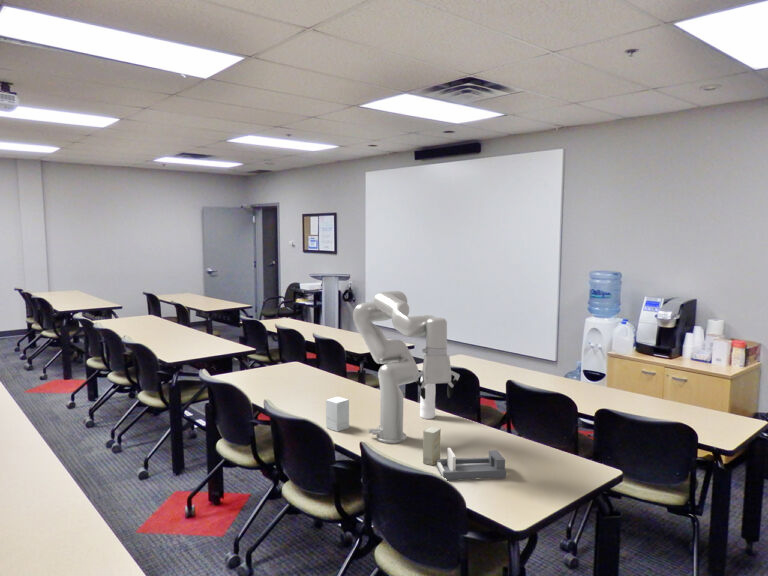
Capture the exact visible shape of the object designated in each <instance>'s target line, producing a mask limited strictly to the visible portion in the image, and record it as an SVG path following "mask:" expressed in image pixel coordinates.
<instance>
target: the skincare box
mask: <svg viewBox="0 0 768 576" xmlns="http://www.w3.org/2000/svg"><path fill="white" fill-rule="evenodd" d="M422 434H423V437H422V438H423V439H422V452H423V453H422V463H423V464H426V465H430V466H435V465H437V459H441V428H440V427H435V426H429V427H427V428H426V429H425V430H423V433H422Z"/></svg>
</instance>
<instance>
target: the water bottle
mask: <svg viewBox="0 0 768 576" xmlns="http://www.w3.org/2000/svg"><path fill="white" fill-rule="evenodd" d="M422 381H423V379H422V376H420V382H422ZM424 388H425V399H423V398H422V396H420V401H419V408H420V409H419V417H420V418H421V419H425V420H432V419H434V418H435V417H436V384H426V385H425V387H424Z"/></svg>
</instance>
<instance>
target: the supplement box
mask: <svg viewBox="0 0 768 576" xmlns="http://www.w3.org/2000/svg"><path fill="white" fill-rule="evenodd" d="M325 416H326V417H325V420H326V421H325V424H326V425H325V427H326V428H327V429H329V430H332V431H335V432H340V431H344V430H347V429H349V428H350V399H348V398H344V397H341V396H335V397H332V398H328V399H326V400H325Z"/></svg>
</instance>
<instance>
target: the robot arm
mask: <svg viewBox="0 0 768 576" xmlns="http://www.w3.org/2000/svg"><path fill="white" fill-rule="evenodd" d="M409 313H410V306H409V304H408V297H407V295H406V294H405V293H404V292H402V291H400V290H390V291H389V290H388V291H381V292H378V293H377V294H375V295H374V298H373V301H369V302H362V303H359V304H357V306H355V307H354V309H353V312H352V314H353V315H352V316H353V317H352V318H353V323H354V325H355V328H356V330H357V332H358V333H359V334H360V335H361V337H362V338H363V340H364V343H365V345H366V346H367V349H368V351H369V353H370V355H371V357H372V359H373V361H374V362H375V363H376V364H378V365H379V364H380V365H381V366H380V367H379V369H378V372H377V377H378V382H379V391H380V392H379V395H380V397H379V398H380V399H379V400H380V401H379V402H380V406H379V407H380V408H379V409H380V410H379V411H380V415H379V421H380V422H379V425H378V427H376V428H368V434H372V436H376V437H375V438H376V440H377V441H379V442H381V443H384V444H400V443H403V442H405V441H406V440H407V439H408V438H407V434H406V433H405V432H404V394H403V391H402V390H401V388H400V386H402V385H407V384H411V383H414V382H415V383H416V384H417V386H418V387H420V389H419V390H420V391H419V392H420V393H419V394H420V396H422V398H423V399H425V388H424V387H425V385H426V384H435V385H436V384H437V385H438V384H447V388H446V389H447V390H446V396H447V397H448V399H451V398H452V396H453V388H454V386H455V385H456V384H457V383H458V381H459V378H460V376H461V375H460V374H459V373H457V372H455V371H453V370H452V369H451V368H452V365H451V358H450V355H448V321H447V320H446V318H443V317H436V316H433V315H429V314H426V315H425V314H424V315H415V316H414V315H413V316H409ZM389 320H391V323H392V326H393V328H394V329H395V330H396V331H397V332H398V333H400V334H402V335H404V336H406V337H409V338H413V337H421V336H425V338H426V340H425V343H426V344H425V345H426V346H425V348H422V353H425V354H424V357H423V362H422V370H421V371H419V368H418V364H417V363H416V361H415V359H414V357H413V355H412V353H411V351H410V350H409V348H408V346H407V344H406V343H405V342H404V341H403V340H401V339H388V338H386V337H385V335H384V332H383V331H382V329H381V328H380V327H379V326H378V325H376V324H374V323H373V322H384V321H389ZM421 377H422V379H423V381H422V382H421V380H419V378H421ZM452 377H454V378H453V379H452Z"/></svg>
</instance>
